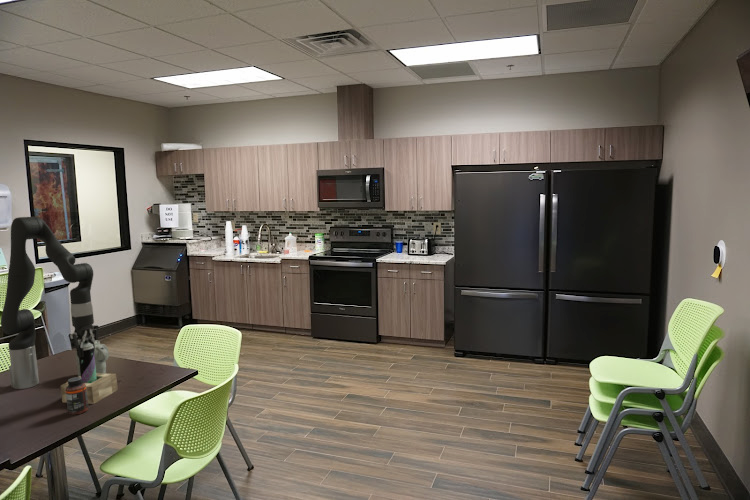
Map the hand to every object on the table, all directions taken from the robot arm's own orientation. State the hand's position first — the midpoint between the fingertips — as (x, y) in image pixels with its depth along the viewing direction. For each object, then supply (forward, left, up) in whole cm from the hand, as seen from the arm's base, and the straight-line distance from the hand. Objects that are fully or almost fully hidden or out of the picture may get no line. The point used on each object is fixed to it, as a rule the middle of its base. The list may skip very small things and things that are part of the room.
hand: (86, 354), depth 205 cm
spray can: (0, 0, -14) cm, 14 cm away
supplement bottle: (+6, -14, -18) cm, 23 cm away
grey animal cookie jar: (-15, +21, -18) cm, 31 cm away
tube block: (0, 0, -18) cm, 18 cm away
